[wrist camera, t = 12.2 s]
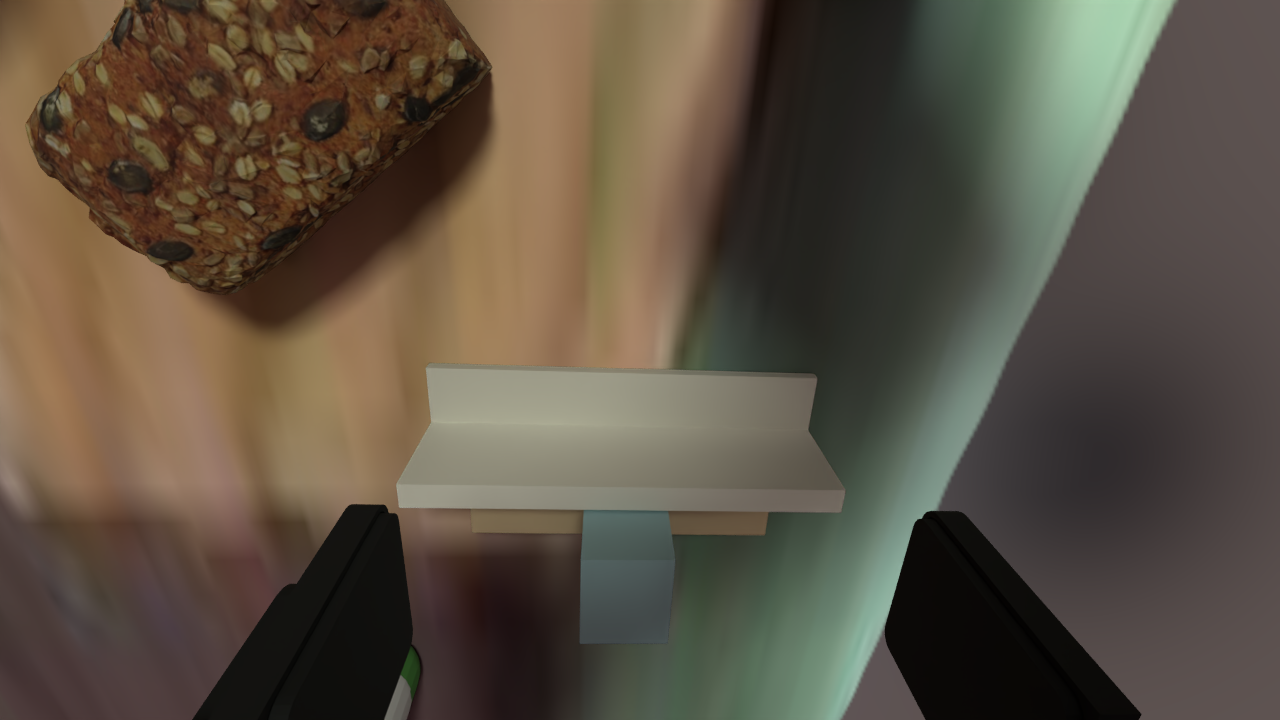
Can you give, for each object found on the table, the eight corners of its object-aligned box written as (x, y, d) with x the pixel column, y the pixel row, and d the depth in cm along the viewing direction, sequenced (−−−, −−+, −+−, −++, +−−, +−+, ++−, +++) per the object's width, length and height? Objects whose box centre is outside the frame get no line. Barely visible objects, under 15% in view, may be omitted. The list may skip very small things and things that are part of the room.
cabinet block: (585, 473, 38) (580, 559, 31) (662, 474, 39) (675, 560, 31) (584, 561, 41) (579, 659, 34) (655, 561, 42) (666, 658, 34)
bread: (369, -112, 29) (261, -212, 20) (512, 79, 33) (475, 68, 24) (130, 127, 33) (-54, 135, 24) (282, 276, 37) (173, 332, 28)
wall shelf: (429, 363, 39) (388, 421, 32) (813, 373, 41) (859, 431, 34) (441, 496, 43) (407, 575, 36) (790, 500, 45) (826, 577, 38)
